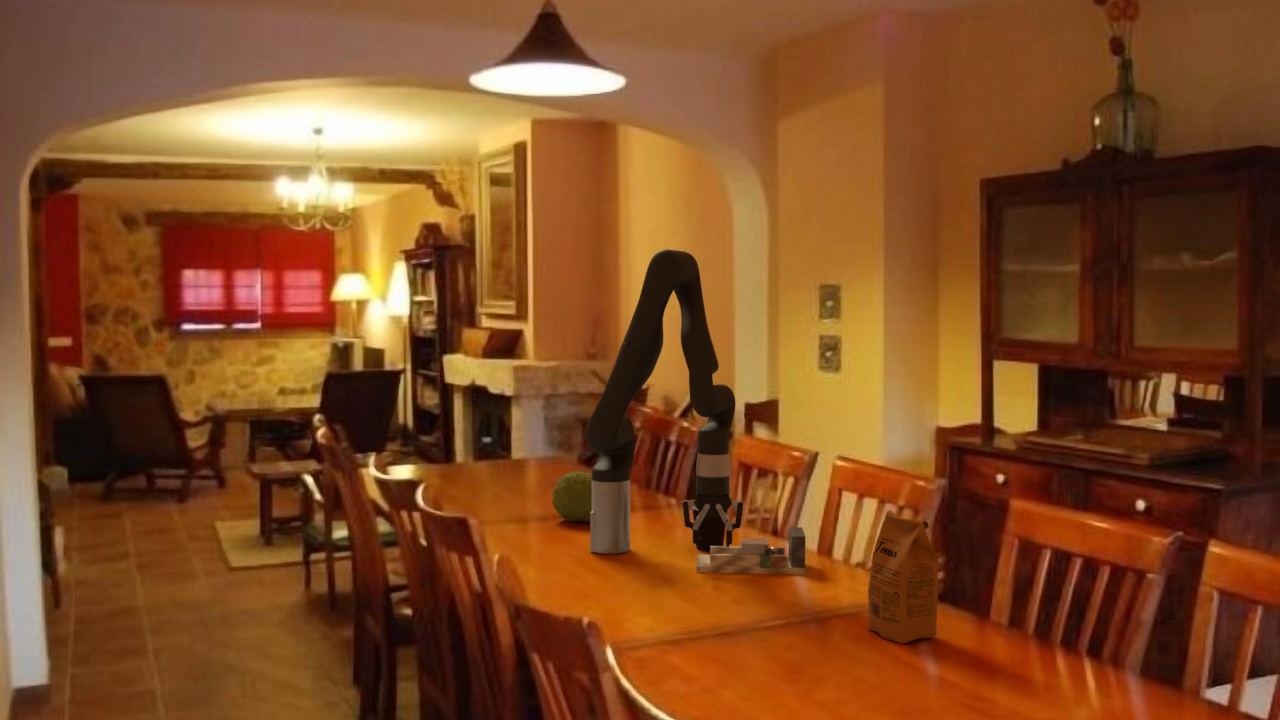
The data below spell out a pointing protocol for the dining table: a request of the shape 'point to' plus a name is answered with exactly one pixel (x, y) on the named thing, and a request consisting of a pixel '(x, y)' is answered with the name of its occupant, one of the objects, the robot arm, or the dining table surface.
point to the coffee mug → (710, 531)
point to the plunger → (758, 547)
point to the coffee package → (903, 581)
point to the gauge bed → (756, 558)
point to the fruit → (573, 496)
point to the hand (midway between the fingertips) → (712, 545)
